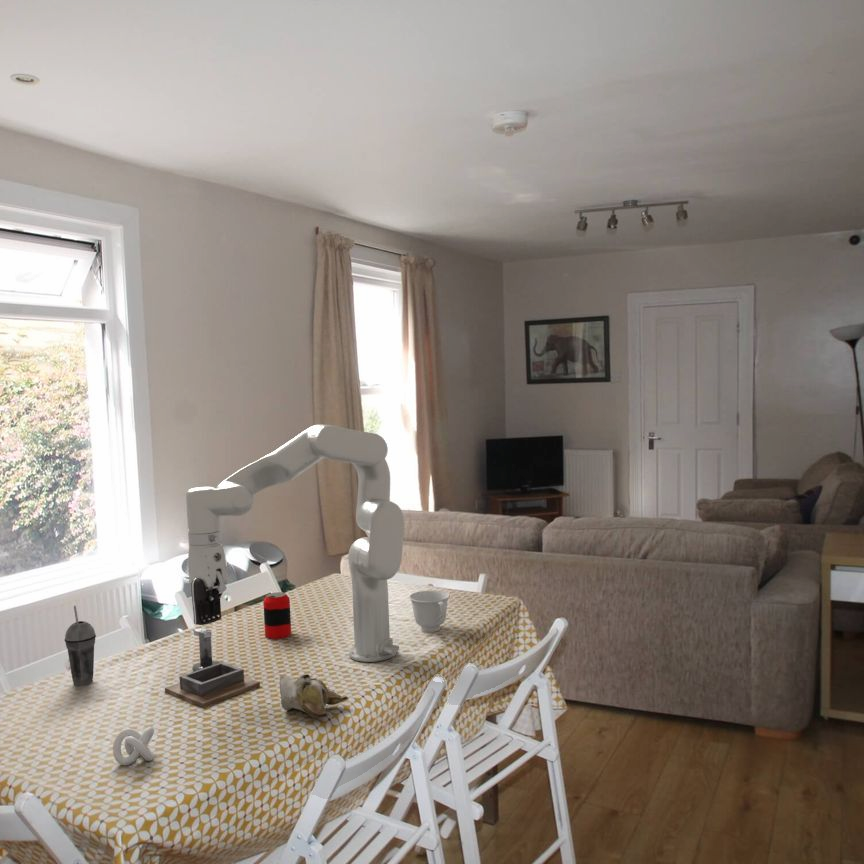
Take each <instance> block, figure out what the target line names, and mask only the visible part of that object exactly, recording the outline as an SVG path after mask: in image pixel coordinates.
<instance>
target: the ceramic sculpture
mask: <svg viewBox="0 0 864 864" xmlns="http://www.w3.org/2000/svg"><path fill="white" fill-rule="evenodd" d="M326 685H327V684H326V683H324V682H323V681H322V680H321V679H318V678H311V676H310V674H302V675H300V676H299V677H298V678H297V679H295V678H293V677H287V676H285V675H284V676H283V675H280V677H279V693H280V699H281V701H280V702H281V703H280V705H281V707H282V709H283V710H284V711H289V710H293V709H295V710H298V711H302V712H304V713H306V714H307V715H308V716H309V717H311V718H314V719H315V718H317V719H319V718H323V717H327V716H329V715H328V713H327V712H326V710H325V707H326V705H329V706H331V705H332V706H333V705H338V704H340V703H343V702H346V701H348V699H349V697H348V696H341V695H340V694H337V692H336V691H334V690H330V689H328V687H327V686H326Z"/></svg>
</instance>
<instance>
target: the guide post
mask: <svg viewBox="0 0 864 864" xmlns="http://www.w3.org/2000/svg"><path fill="white" fill-rule="evenodd" d="M193 635H194V636H197V637H198V645H199V646H198V647H199V661H200V662H197V663H195V664H194V665H192V672H194V671H197V670H200V669H203V668H206V667H208V666H211V665H214V664H217V663H220V662H221V661H218V660H213V652H212V650H213V649H212V647H213V646H212V631H211V630H210V629H204V628H201V627H199V628H196V629H193Z"/></svg>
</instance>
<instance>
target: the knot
mask: <svg viewBox="0 0 864 864" xmlns="http://www.w3.org/2000/svg"><path fill="white" fill-rule="evenodd" d="M154 733H155V729H154V727H152V726H148V727H146V728H145V729H144V730H143V732H142V734H140V733H139V732H138V731H137V730H135V729H134V728H129V727H128V728H124V729H122V730H121V731H119V732H118V734H117V735H116V737H115V739H114V741H113V746H112V753H113V757H114V759H115V761H116V762H117V764H119V765H121V766H129V765H132V764H133V763H134V762H135V761H136V760H137V759H138V757H140V755H141V756H142V757H143V758H144V759H145V760H146V761H147V762H151V761H152V760H153V759H154V755H153V753H152V752H151V749H150V748H149V747H148V745H149V743H150V742H151V740H152V738H153V736H154ZM123 740H124V748H125V751H126V753H127V754H128V756H127V757H125V756H124V754H123V753H122V743H123Z"/></svg>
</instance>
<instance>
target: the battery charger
mask: <svg viewBox="0 0 864 864" xmlns="http://www.w3.org/2000/svg"><path fill="white" fill-rule="evenodd" d="M190 585H191V587H190V588H191V589H190V590H191V603H192V613H193V624H194V625H197V626H204V625H205V626H206V625H209V624H212V623H215V622H217V621H220V620H222V613H221V614H219V615H216V616H212V617H209V616H208V601H207V600H209V595H208V588H207V587H205V585H204V582H203V580H202V579H199V578H197V577H196V578H194V579H193V580H192V583H191V584H190ZM215 585H216V584H215V583H214V586H215ZM215 590H216V588H215V589H212V591H213V592H214V591H215Z"/></svg>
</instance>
